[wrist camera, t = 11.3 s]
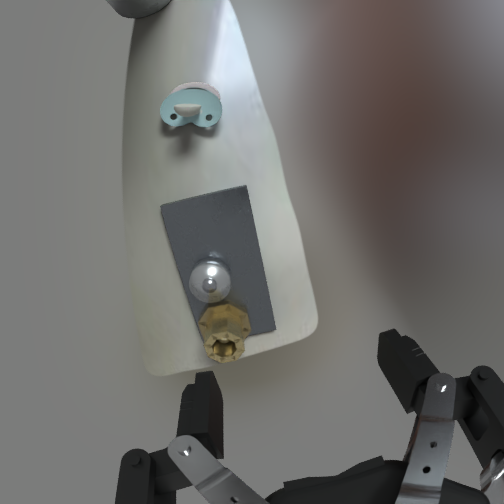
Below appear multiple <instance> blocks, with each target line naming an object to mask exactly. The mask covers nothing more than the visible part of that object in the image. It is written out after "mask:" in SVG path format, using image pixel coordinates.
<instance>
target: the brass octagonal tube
mask: <svg viewBox="0 0 504 504" xmlns="http://www.w3.org/2000/svg"><path fill="white" fill-rule="evenodd" d="M198 325H199V328H200V331H201V334H202V336H203V339H204V347H205V350H206V353H207V355H208V357H209V358H212V359H214V360H216V361H218V362H220V363H225V362H231V361H236V360H237V359H238V358H239V357H240V356H241V354H242V353H243V352H244V351H245V348H244V340H245V338H246V337H247V336H248V335H249V333H250V332H251V324H250V320H249V316H248V312H247V309H245V308H243V307H241V306H240V305H238V304H236V303H234V302H232V301H230V300H226V301H221V302H215V303H210V304H208V306H207V307H206V308H205V310H204V311H203V313H202V314H201V316H200V317H199V319H198ZM223 338H227V339H229V342H227V343H221V342H220V341H219V339H223Z"/></svg>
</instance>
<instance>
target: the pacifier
mask: <svg viewBox="0 0 504 504" xmlns="http://www.w3.org/2000/svg"><path fill="white" fill-rule="evenodd" d="M201 89H202V90H201ZM160 114H161V117H162V119H163V120H164V122H166V123H167V124H169V125H171V126H183V125H185V124H187V123H189V122H192V123H194V124H195V125H197V126H200V127H209V126H212V125H214V124H215V123H216V122H218V120H219V119H220V117H221V114H222V105H221V102H220V94H219V92H218V91H217V90H216V89H215V88H214V87H212V86H210V85H209V84H205V83H200V82H190V83H185V84H182V85H180V86H177V87H176V88H175V89H173V90H172V92H171V93H170V95H169V96H168V97H167V98H166V99H165V100H164V101H163V103H162V105H161V109H160ZM172 114H177V119H175V120H172V119H171V118H170V116H171V115H172ZM209 114H210V115H212V116H213V118H212V120H210V121H207V120H206V116H207V115H209Z"/></svg>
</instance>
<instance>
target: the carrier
mask: <svg viewBox="0 0 504 504" xmlns="http://www.w3.org/2000/svg"><path fill="white" fill-rule="evenodd" d="M160 208H161V211H162V215H163V219H164V222H165V226H166V229H167V233H168V236H169V240H170V243H171V247H172V250H173V253H174V256H175V260H176V263H177V266H178V269H179V273H180V276H181V279H182V282H183V285H184V288H185V291H186V294H187V297H188V300H189V303H190V306H191V309H192V312H193V315H194V318H195V320H196V323H197V326H198V329H199V332H200V334H201V331H200V328H199V325H198V319H199V317H200V316H201V314H202V313H203V311H204V310H205V308H206V307H207V306H208V304H210V303H215V302H221V301H226V300H230V301H232V302H234V303H236V304H238V305H240V306H241V307H243V308H245V309H247V312H248V316H249V320H250V324H251V332H250V333H249V335H253V334H258V333H263V332H268V331H272V330H276V326H275V321H274V316H273V311H272V306H271V301H270V296H269V291H268V286H267V281H266V277H265V272H264V267H263V262H262V257H261V252H260V247H259V243H258V238H257V233H256V228H255V223H254V219H253V214H252V209H251V204H250V200H249V195H248V190H247V186H246V185H243V186H239V187H234V188H229V189H225V190H221V191H216V192H212V193H208V194H203V195H199V196H195V197H191V198H187V199H183V200H179V201H175V202H171V203H167V204H163V205H161V206H160ZM201 337H202V340H203V343H204V339H203V336H202V334H201ZM219 341H220V342H221V343H227V342H229V339H227V338H223V339H219Z"/></svg>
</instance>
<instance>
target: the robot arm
mask: <svg viewBox="0 0 504 504" xmlns="http://www.w3.org/2000/svg"><path fill="white" fill-rule="evenodd" d="M106 1H107V2H108V3H109V4H110V5H111V6H112V7H113V8H114V9H115V11H116V12H117V13H118V14H120V15H121V16H123V17H127V18H141V17H145V16H148V15H151V14H153V13H155V12H157V11H159V10H160V9H162V8H163V7H164V6H166V5H167V4H168V3H169V2H170V1H171V0H106ZM377 359H378V364H379V366H380V368H381V370H382V372H383V373H384V375H385V377H386V378H387V380H388V382H389V383H390V385H391V387H392V389H393V390H394V392H395V394H396V395H397V397H398V399H399V401H400V402H401V404H402V406H403V408H404V409H405V411H406V413H407V414H408V413H410V412H413V411H415V412H416V414H417V416H416V418H415V422H414V426H413V430H412V433H411V437H410V441H409V444H408V447H407V450H406V453H405V455H404V458H403V460H402V461H399V460H385V461H384V460H383V457H382V456H379V457H376V458H373V459H370V460H367V461H364V462H361V463H359V464H357V465H355V466H353V467H352V468H350V469H348V470H346V471H345V472H342V473H341V474H339V475H336V476H328V477H307V478H302V479H297V480H292V481H287V482H283V483H284V488H282V489H279V490H277V491H275V492H274V493H272V494H271V495H269V496H268V497H267V498H265V499H263V498H262V497H261V496H259V495H258V494H257V493H256V492H255V491H253V490H252V489H251V488H250V487H249V486H247V485H246V484H245V483H244V482H243V481H242V480H241V479H240V478H238V477H237V476H236V475H235V474H234V473H233V472H232V471H231V470H229V469H228V468H225V467H224V466H223V465H222V464H221V463H220V462H219V461H218V460H217V459H223V458H224V449H223V398H222V394H221V390H220V388H219V385H218V383H217V380H216V378H215V376H214V373H213V371H206V372H199V373H196V378H195V384H188V385H187V386H186V388H185V390H184V391H183V393H182V399H181V406H180V413H179V421H178V428H177V435H176V438H175V439H173V440H172V441H171V442H170V444H169V446H168V447H167V448H165V449H163V450H159V451H156V452H152V453H149V454H148V453H147V452H146V451H144V450H142V449H132V450H130V451H128V452H127V453H126V454H125V455H124V456H123V458H122V460H121V466H120V472H119V478H118V485H117V492H116V499H115V504H176V490H179V489H182V488H186V487H189V486H192V485H194V486H195V488H196V489H197V490H198V491H199V493H200V494H201V495H202V496H203V497H204V498H205V499H206V500H207V501H208V502H209V503H210V504H504V383H503V382H502V381H501V379H500V378H499V377H498V375H497V374H496V373H495V372H494V370H493V369H491V368H490V367H488V366H478V367H476V368H474V369H473V370H472V372H471V374H470V376H466V377H460V378H453V377H452V376H451V375H449V374H447V373H440V372H439V371H438V369H437V368H436V367H435V366H434V364H433V363H432V362H431V360H430V359H429V358H428V357H427V355H426V354H424V352H423V350H422V349H421V348H420V347H419V345H418V344H417V343H416V342H415V340H413V339H411V338H410V337H408V336H406V335H405V336H402V337H401V336H400V334H399V333H398V332H397V331H396V329H391V330H388V331H385V332H382V333H380V334H379V344H378V355H377ZM454 420H457V421H458V422H459V424H460V426H461V428H462V430H463V431H464V433H465V435H466V437H467V439H468V440H469V442H470V444H471V446H472V448H473V450H474V452H475V454H476V456H477V458H478V460H479V462H480V464H481V466H482V467H483V470H482V472H481V474H480V486H481V491H480V490H477V489H475V488H471V487H469V486H466V485H463V484H460V483H457V482H455V481H452V480H449V479H447V478H444V475H445V471H446V467H447V462H448V458H449V453H450V448H451V443H452V437H453V431H454V425H455V421H454Z"/></svg>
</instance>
